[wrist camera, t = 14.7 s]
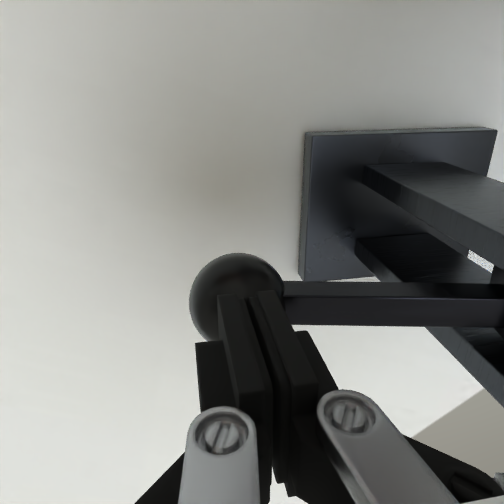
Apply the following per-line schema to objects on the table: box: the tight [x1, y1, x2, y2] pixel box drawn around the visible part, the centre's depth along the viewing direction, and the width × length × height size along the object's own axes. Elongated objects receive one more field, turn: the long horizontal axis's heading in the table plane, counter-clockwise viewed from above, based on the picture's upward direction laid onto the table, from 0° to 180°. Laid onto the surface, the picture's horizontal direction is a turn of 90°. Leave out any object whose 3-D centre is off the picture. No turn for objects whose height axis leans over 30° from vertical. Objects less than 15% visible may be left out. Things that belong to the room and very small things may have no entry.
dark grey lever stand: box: [298, 127, 504, 407], centre depth 17 cm, size 10×8×13 cm
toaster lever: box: [189, 253, 504, 341], centre depth 13 cm, size 13×3×3 cm, turn 90°
